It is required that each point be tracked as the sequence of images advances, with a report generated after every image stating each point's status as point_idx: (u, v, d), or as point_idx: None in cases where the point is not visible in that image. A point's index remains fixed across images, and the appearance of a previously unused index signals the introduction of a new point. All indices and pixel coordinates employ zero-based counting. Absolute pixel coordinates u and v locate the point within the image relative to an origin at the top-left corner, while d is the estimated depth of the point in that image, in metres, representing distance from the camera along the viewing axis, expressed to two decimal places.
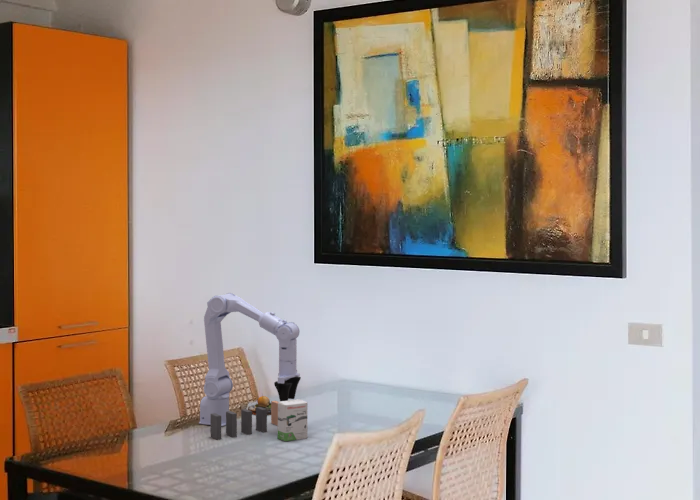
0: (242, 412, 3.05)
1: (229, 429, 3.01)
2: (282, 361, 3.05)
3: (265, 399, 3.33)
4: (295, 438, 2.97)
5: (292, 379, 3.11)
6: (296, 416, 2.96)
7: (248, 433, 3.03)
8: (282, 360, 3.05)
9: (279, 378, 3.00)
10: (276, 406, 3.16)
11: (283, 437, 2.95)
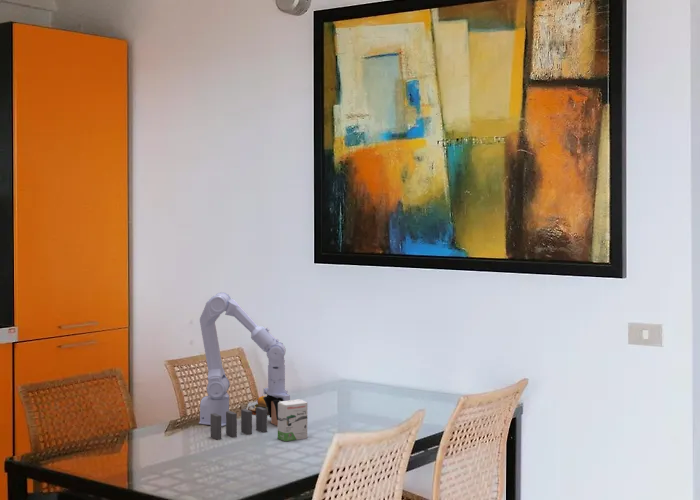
0: (242, 412, 3.05)
1: (229, 429, 3.01)
2: (278, 380, 3.14)
3: None
4: (295, 438, 2.97)
5: (274, 398, 3.19)
6: (296, 416, 2.96)
7: (248, 433, 3.03)
8: (274, 379, 3.14)
9: (286, 396, 3.11)
10: None
11: (283, 437, 2.95)
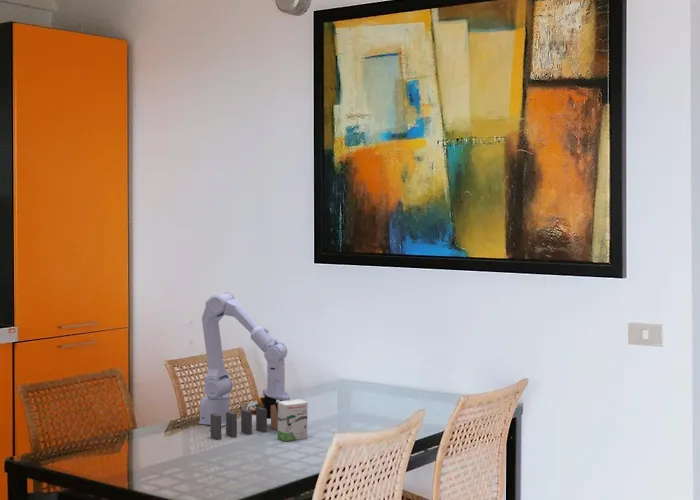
0: (242, 412, 3.05)
1: (229, 429, 3.01)
2: (277, 381, 3.08)
3: None
4: (295, 438, 2.97)
5: (271, 399, 3.14)
6: (296, 416, 2.97)
7: (248, 433, 3.03)
8: (271, 380, 3.08)
9: (286, 398, 3.05)
10: (276, 410, 3.09)
11: (283, 437, 2.95)
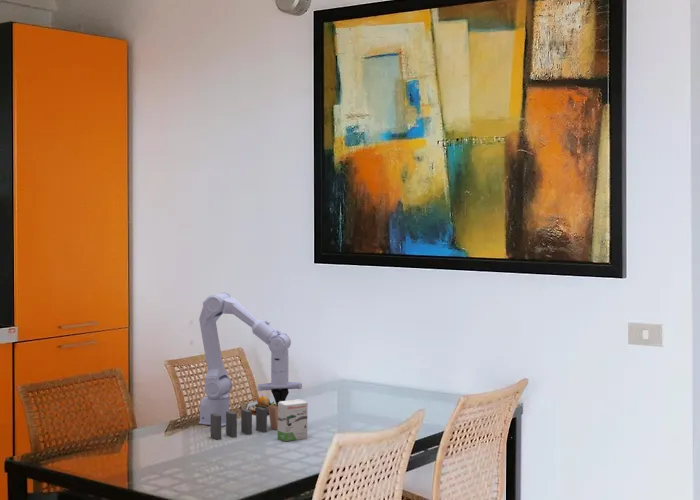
0: (242, 412, 3.05)
1: (229, 429, 3.01)
2: None
3: (265, 399, 3.33)
4: (295, 438, 2.97)
5: None
6: (296, 416, 2.96)
7: (248, 433, 3.03)
8: (275, 371, 3.09)
9: None
10: (273, 411, 3.09)
11: (283, 437, 2.95)
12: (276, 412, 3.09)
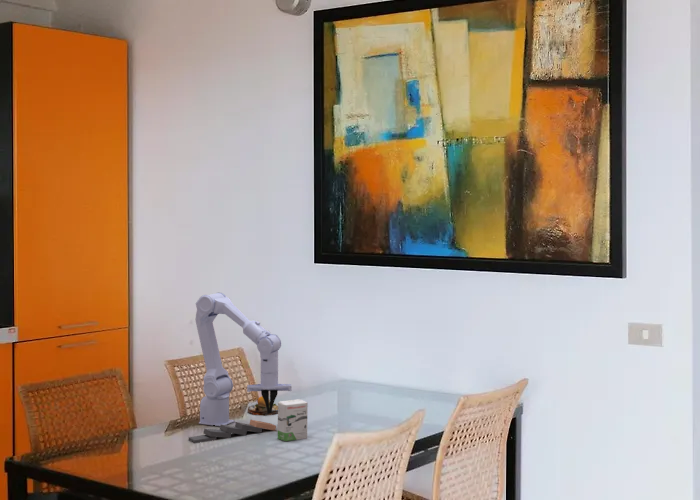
0: None
1: None
2: (277, 372, 3.08)
3: None
4: (295, 438, 2.97)
5: (268, 392, 3.10)
6: (296, 416, 2.96)
7: (244, 434, 3.02)
8: (263, 372, 3.07)
9: None
10: None
11: (283, 437, 2.95)
12: (260, 426, 3.05)
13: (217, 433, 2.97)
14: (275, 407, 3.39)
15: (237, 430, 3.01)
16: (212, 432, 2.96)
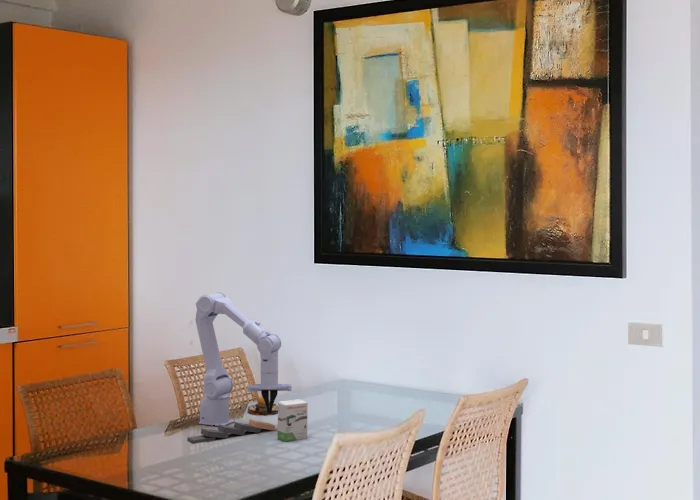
0: None
1: None
2: (277, 372, 3.08)
3: None
4: (295, 438, 2.97)
5: (268, 392, 3.10)
6: (296, 416, 2.96)
7: (242, 434, 3.02)
8: (263, 372, 3.07)
9: None
10: None
11: (283, 437, 2.95)
12: (259, 426, 3.05)
13: (215, 433, 2.96)
14: (275, 407, 3.39)
15: (235, 430, 3.00)
16: (210, 432, 2.95)
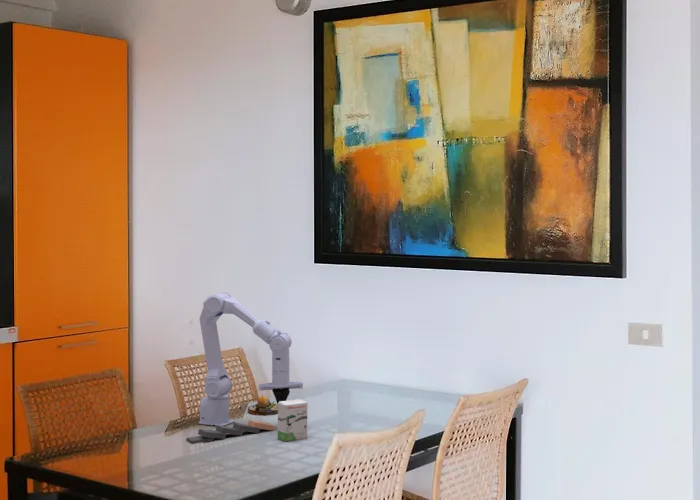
0: None
1: None
2: None
3: (265, 399, 3.33)
4: (295, 438, 2.97)
5: None
6: (296, 416, 2.96)
7: (241, 434, 3.02)
8: (276, 370, 3.09)
9: None
10: None
11: (283, 437, 2.95)
12: (258, 426, 3.05)
13: (212, 434, 2.95)
14: (275, 407, 3.39)
15: (233, 431, 3.00)
16: (208, 433, 2.94)
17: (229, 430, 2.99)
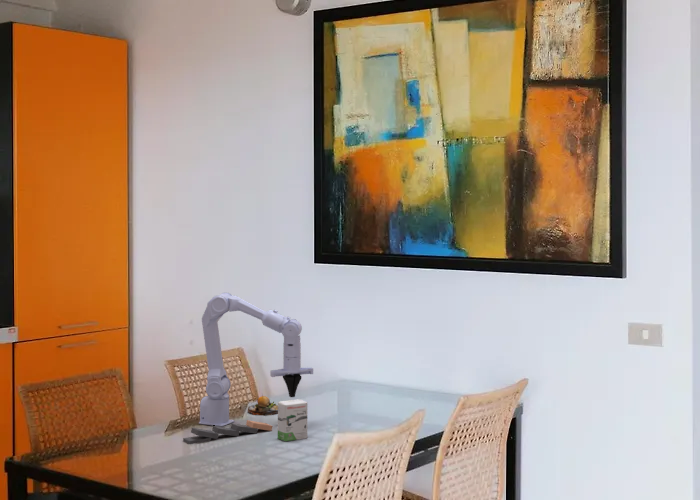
0: None
1: None
2: (300, 356, 3.14)
3: (265, 399, 3.33)
4: (295, 438, 2.97)
5: None
6: (296, 416, 2.97)
7: (237, 435, 3.01)
8: (288, 356, 3.11)
9: None
10: (253, 427, 3.05)
11: (283, 437, 2.95)
12: (256, 426, 3.05)
13: (205, 433, 2.94)
14: (275, 407, 3.39)
15: (229, 431, 2.99)
16: (200, 431, 2.93)
17: (225, 431, 2.98)
